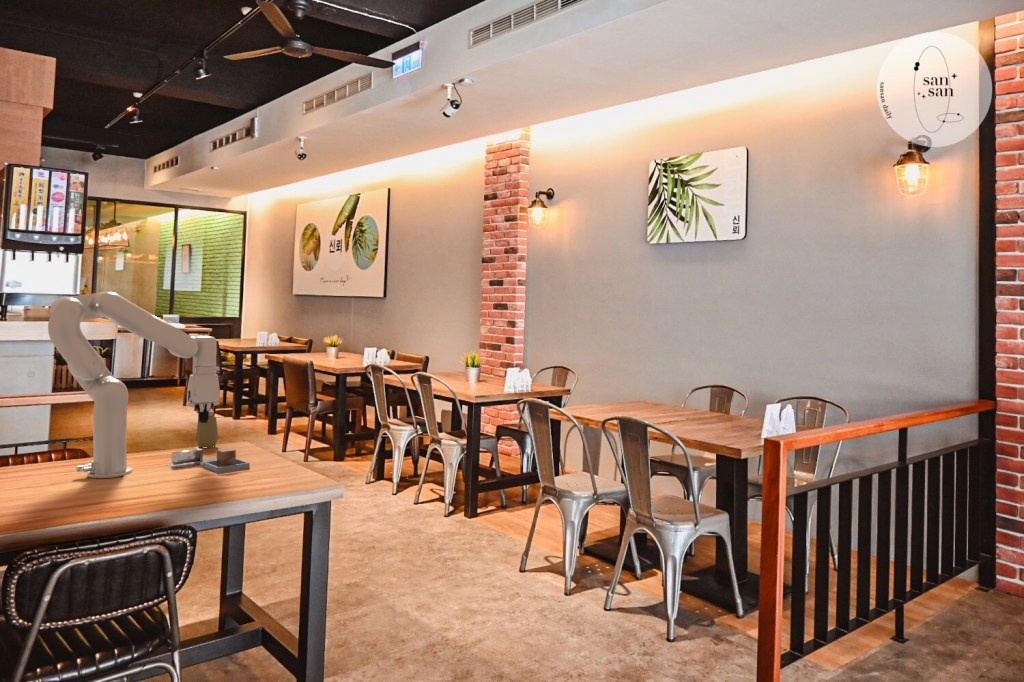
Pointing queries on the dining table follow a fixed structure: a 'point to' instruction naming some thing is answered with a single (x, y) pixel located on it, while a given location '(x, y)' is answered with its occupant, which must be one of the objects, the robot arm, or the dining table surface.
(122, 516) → the dining table surface
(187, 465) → the rail
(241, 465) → the tray
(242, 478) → the dining table surface
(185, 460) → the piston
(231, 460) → the block
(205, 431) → the squeeze bottle
